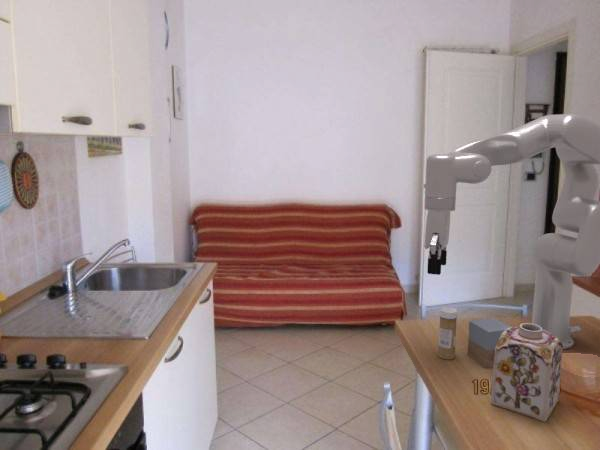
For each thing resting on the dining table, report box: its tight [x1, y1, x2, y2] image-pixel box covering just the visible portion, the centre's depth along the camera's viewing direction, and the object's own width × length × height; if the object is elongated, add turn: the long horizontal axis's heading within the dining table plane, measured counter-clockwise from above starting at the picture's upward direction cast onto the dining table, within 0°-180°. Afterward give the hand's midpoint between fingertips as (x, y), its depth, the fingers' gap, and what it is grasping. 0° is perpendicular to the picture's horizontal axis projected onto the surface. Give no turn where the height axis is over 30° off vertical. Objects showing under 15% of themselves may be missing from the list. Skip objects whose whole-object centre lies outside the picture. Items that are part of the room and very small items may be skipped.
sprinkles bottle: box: [437, 306, 458, 361], centre depth 133 cm, size 5×5×14 cm
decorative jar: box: [490, 322, 564, 423], centre depth 109 cm, size 12×12×18 cm
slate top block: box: [468, 317, 512, 351], centre depth 131 cm, size 8×8×5 cm
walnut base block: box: [467, 339, 495, 369], centre depth 132 cm, size 8×8×5 cm
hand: (436, 269), depth 128 cm, fingers open, 9 cm apart
